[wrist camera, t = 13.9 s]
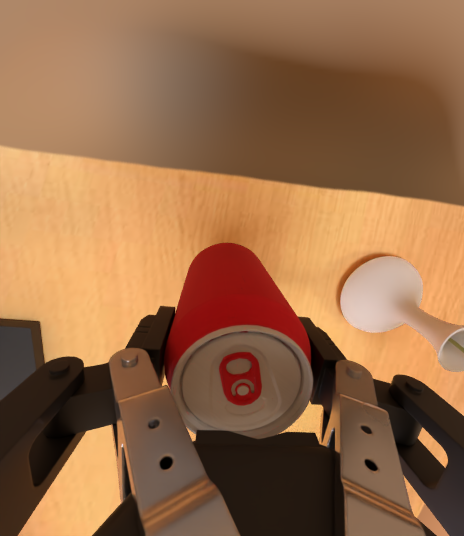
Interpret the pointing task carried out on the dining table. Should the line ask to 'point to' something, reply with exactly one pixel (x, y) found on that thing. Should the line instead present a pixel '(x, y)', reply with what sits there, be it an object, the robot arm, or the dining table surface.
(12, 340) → the grey plate red button
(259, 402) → the beverage can
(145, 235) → the dining table surface
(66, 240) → the dining table surface
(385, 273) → the flower in vase
